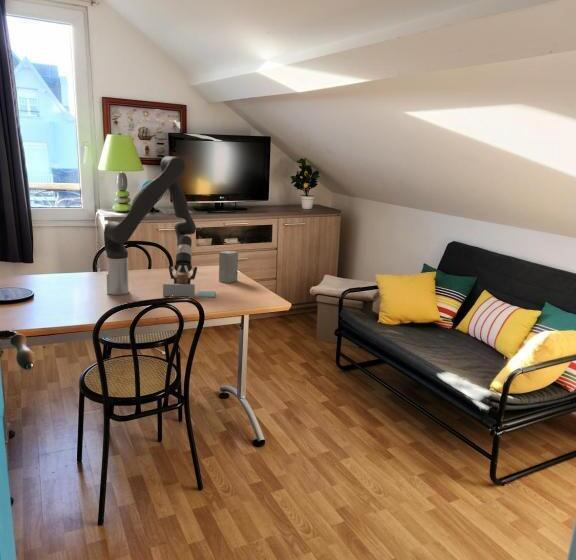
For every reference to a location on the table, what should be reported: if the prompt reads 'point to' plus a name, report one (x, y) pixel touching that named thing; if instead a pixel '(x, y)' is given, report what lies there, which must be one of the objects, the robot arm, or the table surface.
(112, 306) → the table surface
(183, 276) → the marked block
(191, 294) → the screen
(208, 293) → the pad
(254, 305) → the table surface
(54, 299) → the table surface
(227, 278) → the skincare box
